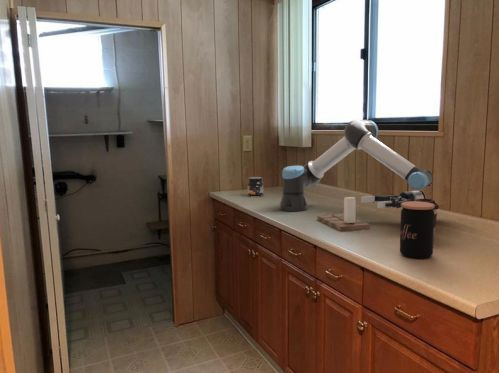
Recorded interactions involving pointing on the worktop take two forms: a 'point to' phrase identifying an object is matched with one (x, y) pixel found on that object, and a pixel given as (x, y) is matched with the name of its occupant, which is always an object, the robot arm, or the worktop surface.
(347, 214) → the fader tab
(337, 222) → the board
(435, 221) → the coffee cup
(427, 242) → the coffee jar
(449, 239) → the worktop surface
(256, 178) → the supplement container
